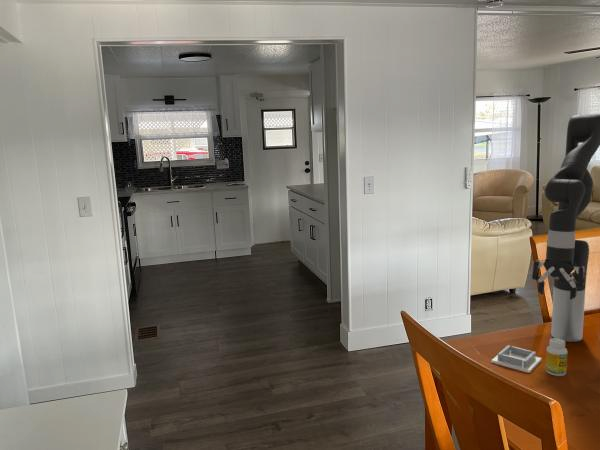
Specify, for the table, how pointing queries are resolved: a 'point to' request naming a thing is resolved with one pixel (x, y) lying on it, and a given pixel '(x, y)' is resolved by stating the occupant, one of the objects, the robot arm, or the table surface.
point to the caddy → (517, 359)
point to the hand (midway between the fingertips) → (556, 296)
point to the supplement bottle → (556, 357)
